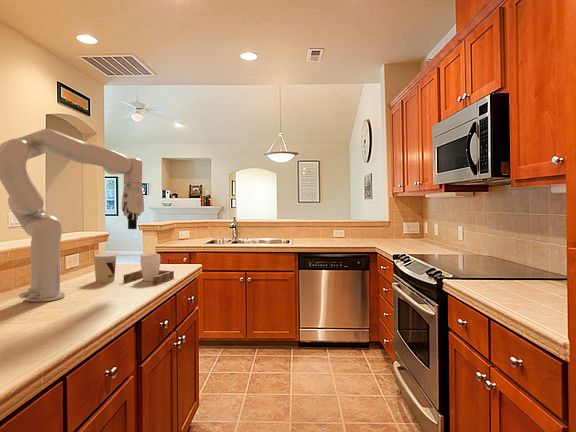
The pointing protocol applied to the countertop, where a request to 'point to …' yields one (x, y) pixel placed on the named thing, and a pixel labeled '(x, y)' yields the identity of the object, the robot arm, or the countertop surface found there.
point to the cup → (150, 266)
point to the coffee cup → (105, 267)
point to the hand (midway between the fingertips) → (132, 228)
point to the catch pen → (158, 279)
